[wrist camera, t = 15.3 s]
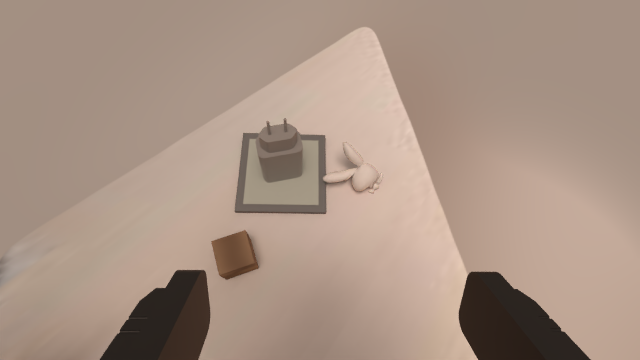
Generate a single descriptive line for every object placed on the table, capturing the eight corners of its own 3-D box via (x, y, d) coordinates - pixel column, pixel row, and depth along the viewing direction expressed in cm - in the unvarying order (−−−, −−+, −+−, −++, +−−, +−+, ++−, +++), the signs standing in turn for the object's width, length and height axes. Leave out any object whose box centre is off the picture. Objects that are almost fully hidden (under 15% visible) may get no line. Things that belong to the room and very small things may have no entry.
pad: (235, 212, 42) (234, 210, 42) (244, 135, 47) (243, 132, 47) (325, 213, 43) (326, 212, 42) (324, 137, 48) (325, 135, 47)
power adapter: (261, 163, 45) (248, 112, 34) (298, 157, 46) (298, 104, 35) (264, 183, 44) (252, 137, 33) (303, 176, 44) (304, 128, 33)
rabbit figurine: (370, 208, 44) (322, 182, 41) (360, 198, 47) (316, 173, 45) (394, 172, 43) (347, 143, 40) (383, 164, 46) (339, 136, 44)
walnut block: (226, 279, 39) (219, 275, 35) (219, 248, 40) (211, 241, 37) (258, 268, 40) (254, 262, 36) (250, 238, 41) (245, 230, 38)
